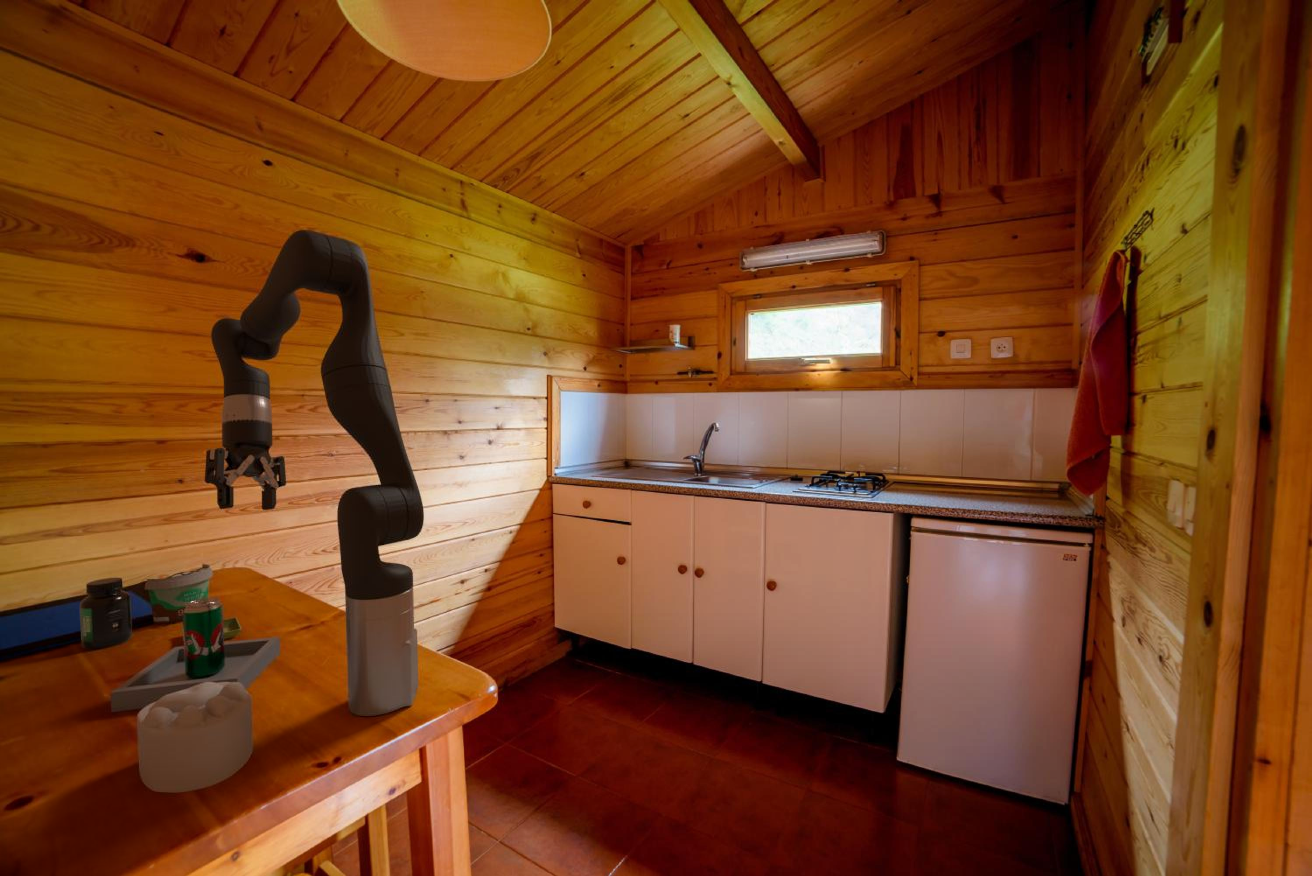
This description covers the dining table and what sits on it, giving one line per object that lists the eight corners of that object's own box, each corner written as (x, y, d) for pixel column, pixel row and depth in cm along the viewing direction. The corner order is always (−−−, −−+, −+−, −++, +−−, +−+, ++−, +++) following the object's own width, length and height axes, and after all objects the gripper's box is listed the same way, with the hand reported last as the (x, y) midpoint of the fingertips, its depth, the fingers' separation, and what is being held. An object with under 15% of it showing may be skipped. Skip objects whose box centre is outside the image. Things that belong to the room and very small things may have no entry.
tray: (280, 652, 99) (279, 636, 99) (237, 697, 84) (237, 678, 84) (176, 663, 95) (175, 646, 95) (111, 712, 80) (110, 692, 80)
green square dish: (237, 626, 113) (236, 616, 113) (242, 639, 106) (242, 628, 106) (181, 638, 107) (181, 627, 107) (183, 652, 101) (183, 641, 100)
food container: (170, 629, 110) (167, 581, 109) (146, 627, 111) (144, 579, 111) (229, 608, 122) (227, 564, 122) (206, 606, 123) (205, 563, 123)
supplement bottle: (84, 653, 99) (81, 589, 99) (79, 644, 103) (75, 582, 103) (135, 641, 105) (132, 580, 104) (128, 632, 109) (125, 573, 108)
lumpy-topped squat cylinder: (231, 726, 76) (228, 666, 76) (269, 759, 69) (267, 693, 69) (130, 766, 68) (127, 698, 67) (162, 809, 60) (159, 733, 60)
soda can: (220, 662, 93) (217, 594, 93) (228, 671, 90) (225, 600, 89) (182, 674, 89) (179, 602, 89) (189, 683, 86) (186, 609, 86)
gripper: (229, 412, 94) (229, 505, 91) (296, 425, 108) (298, 507, 105) (192, 419, 95) (191, 511, 92) (263, 432, 109) (264, 512, 106)
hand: (248, 509), depth 98 cm, fingers open, 8 cm apart
